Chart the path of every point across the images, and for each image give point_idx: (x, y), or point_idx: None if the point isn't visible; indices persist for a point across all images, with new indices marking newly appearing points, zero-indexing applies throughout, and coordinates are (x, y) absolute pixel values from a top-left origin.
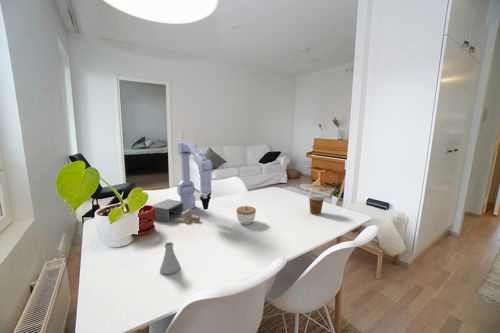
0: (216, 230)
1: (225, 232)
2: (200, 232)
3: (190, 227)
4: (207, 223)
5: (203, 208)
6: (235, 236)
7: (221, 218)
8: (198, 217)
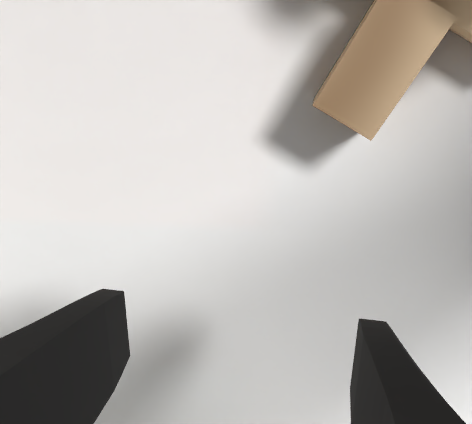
0: None
1: None
2: (55, 149)
3: (176, 17)
4: (273, 222)
5: (90, 294)
6: None
7: None
8: (341, 121)
